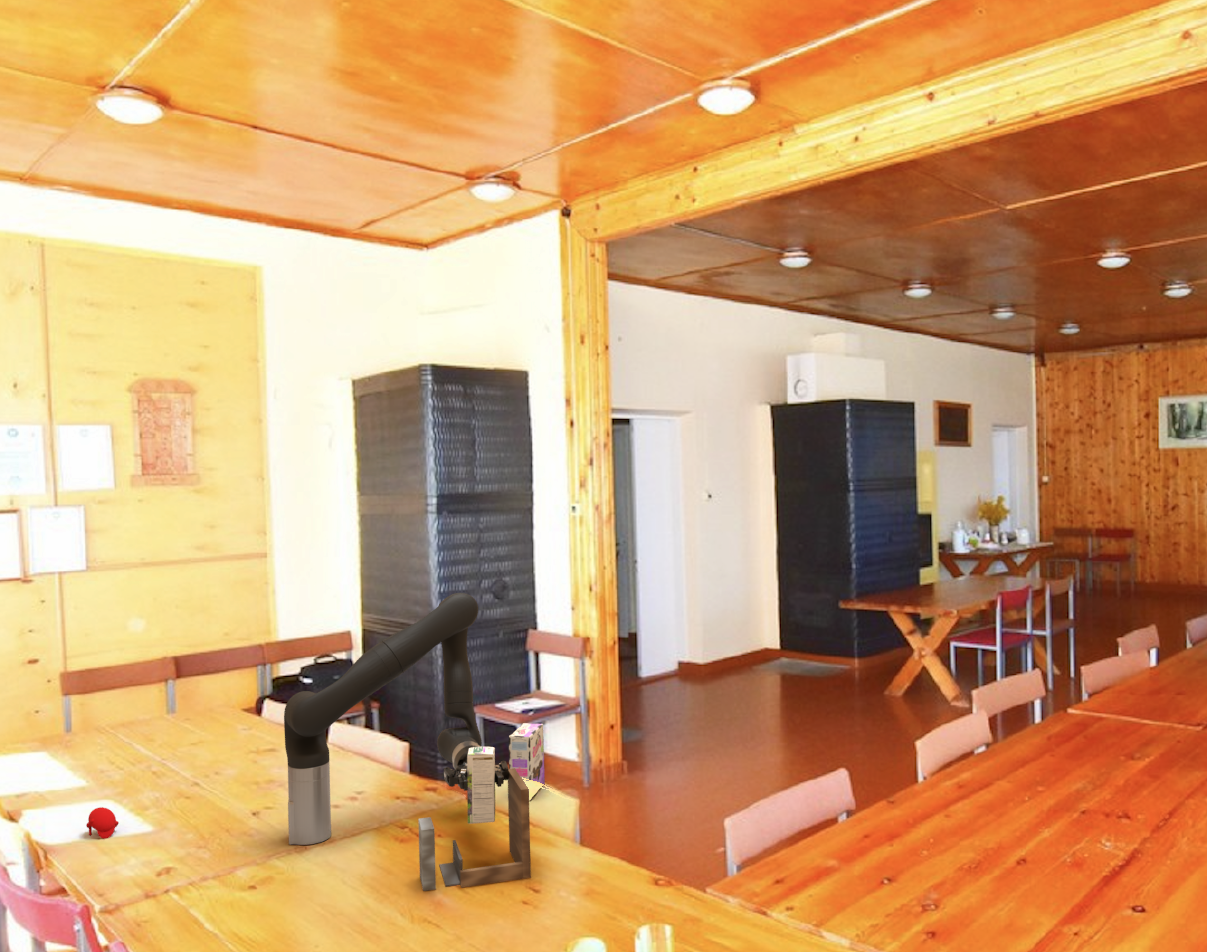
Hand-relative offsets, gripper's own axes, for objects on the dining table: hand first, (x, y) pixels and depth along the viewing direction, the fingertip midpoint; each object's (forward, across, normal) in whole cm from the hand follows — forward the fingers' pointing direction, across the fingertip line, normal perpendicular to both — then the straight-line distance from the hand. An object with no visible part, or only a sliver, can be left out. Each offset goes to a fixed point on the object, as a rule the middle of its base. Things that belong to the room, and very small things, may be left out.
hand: (483, 784), depth 196 cm
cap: (-53, -82, +18) cm, 99 cm away
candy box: (-45, +19, +18) cm, 52 cm away
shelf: (0, -3, +18) cm, 18 cm away
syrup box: (-2, 0, +8) cm, 9 cm away
